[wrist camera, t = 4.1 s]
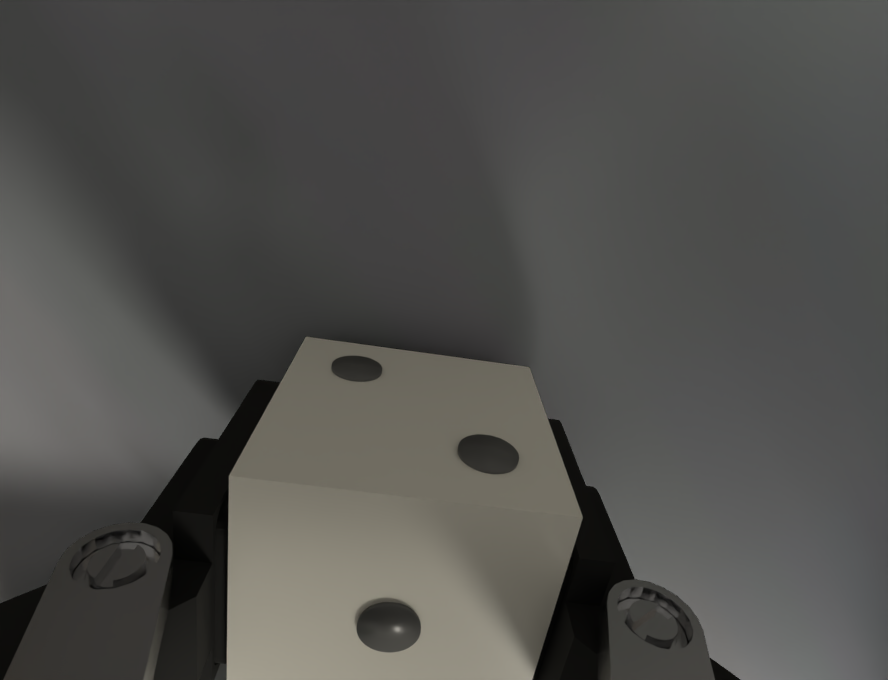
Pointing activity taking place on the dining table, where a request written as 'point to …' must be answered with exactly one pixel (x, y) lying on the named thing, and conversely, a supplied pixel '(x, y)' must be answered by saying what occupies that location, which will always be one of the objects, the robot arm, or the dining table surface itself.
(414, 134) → the dining table surface
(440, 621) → the die
